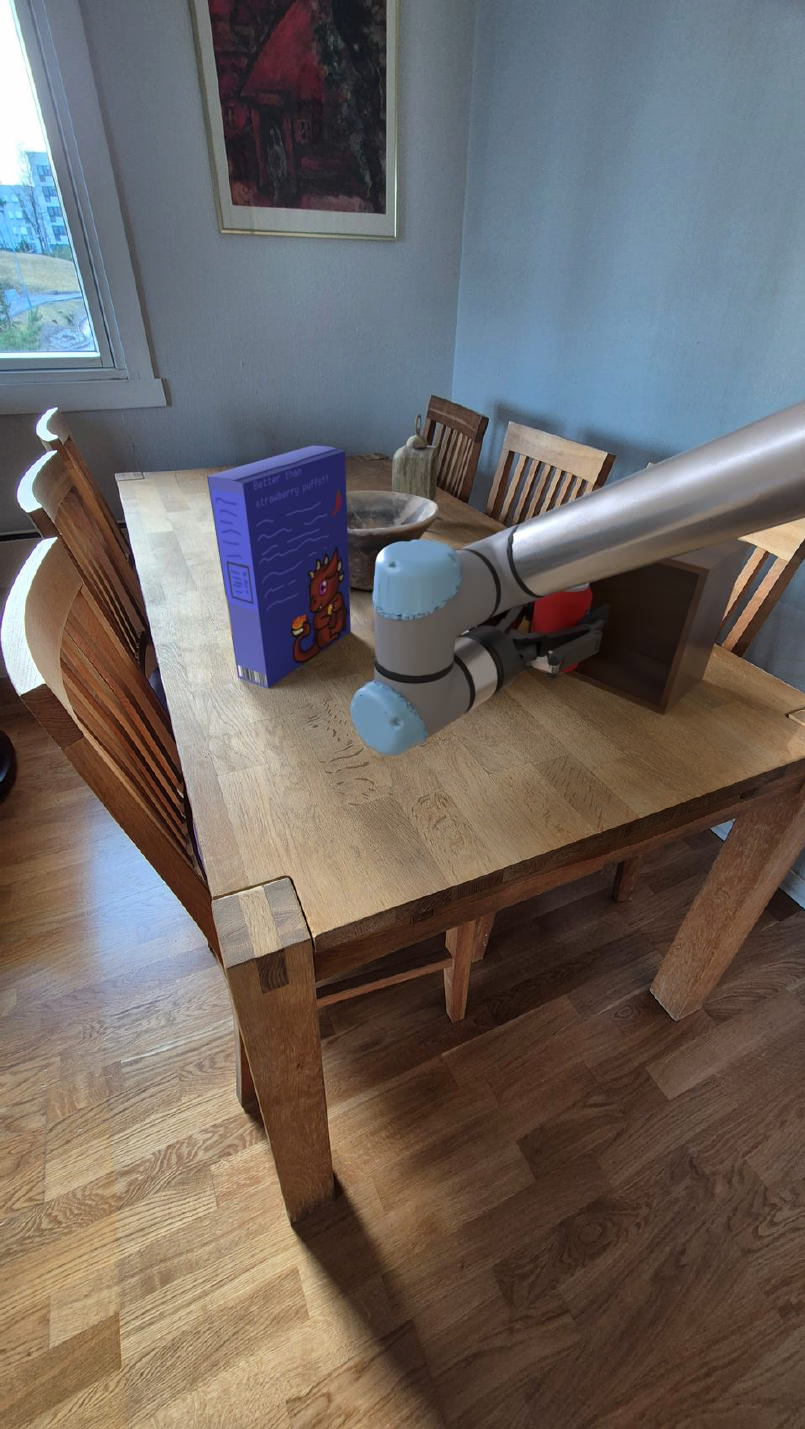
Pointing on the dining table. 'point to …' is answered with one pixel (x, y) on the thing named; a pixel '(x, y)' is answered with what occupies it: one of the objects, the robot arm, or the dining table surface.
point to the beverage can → (561, 611)
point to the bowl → (382, 528)
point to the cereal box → (283, 558)
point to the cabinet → (661, 625)
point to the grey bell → (416, 467)
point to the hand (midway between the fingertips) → (580, 605)
